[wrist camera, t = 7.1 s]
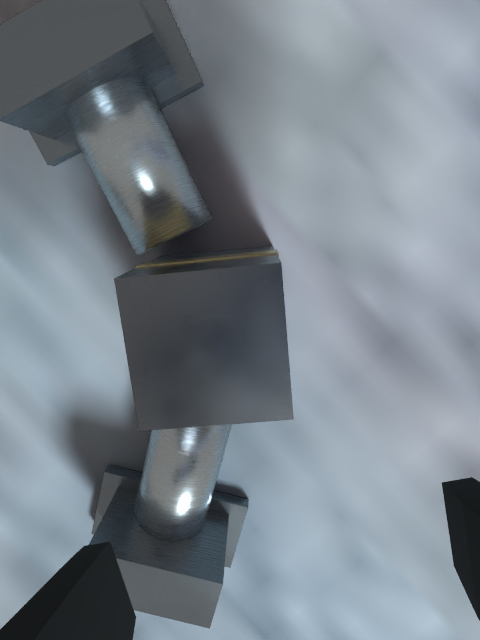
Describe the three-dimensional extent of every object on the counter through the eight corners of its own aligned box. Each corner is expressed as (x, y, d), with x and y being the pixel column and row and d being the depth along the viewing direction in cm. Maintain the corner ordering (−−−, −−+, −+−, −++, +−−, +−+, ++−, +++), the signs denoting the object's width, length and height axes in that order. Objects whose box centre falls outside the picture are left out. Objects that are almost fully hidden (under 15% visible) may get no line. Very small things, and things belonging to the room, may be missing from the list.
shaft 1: (256, 198, 17) (255, 194, 13) (110, 270, 18) (65, 288, 14) (163, -5, 16) (128, -83, 12) (10, 83, 17) (-75, 40, 13)
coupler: (283, 356, 19) (295, 420, 13) (173, 365, 19) (137, 432, 13) (273, 244, 18) (282, 260, 12) (157, 255, 18) (111, 276, 12)
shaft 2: (127, 373, 19) (90, 420, 15) (274, 411, 19) (279, 467, 15) (96, 524, 21) (55, 604, 17) (230, 557, 21) (224, 645, 17)
